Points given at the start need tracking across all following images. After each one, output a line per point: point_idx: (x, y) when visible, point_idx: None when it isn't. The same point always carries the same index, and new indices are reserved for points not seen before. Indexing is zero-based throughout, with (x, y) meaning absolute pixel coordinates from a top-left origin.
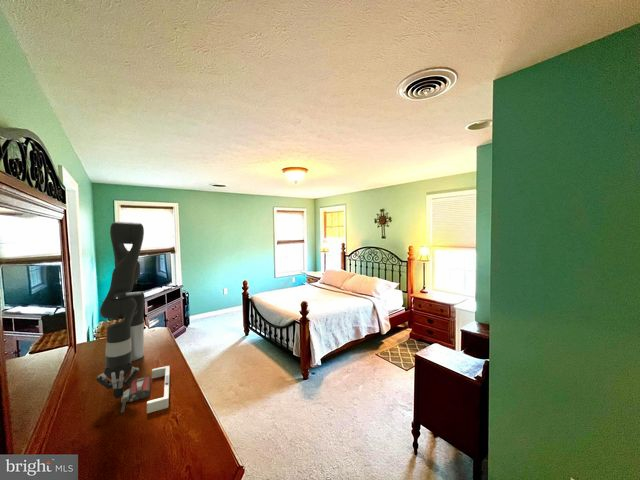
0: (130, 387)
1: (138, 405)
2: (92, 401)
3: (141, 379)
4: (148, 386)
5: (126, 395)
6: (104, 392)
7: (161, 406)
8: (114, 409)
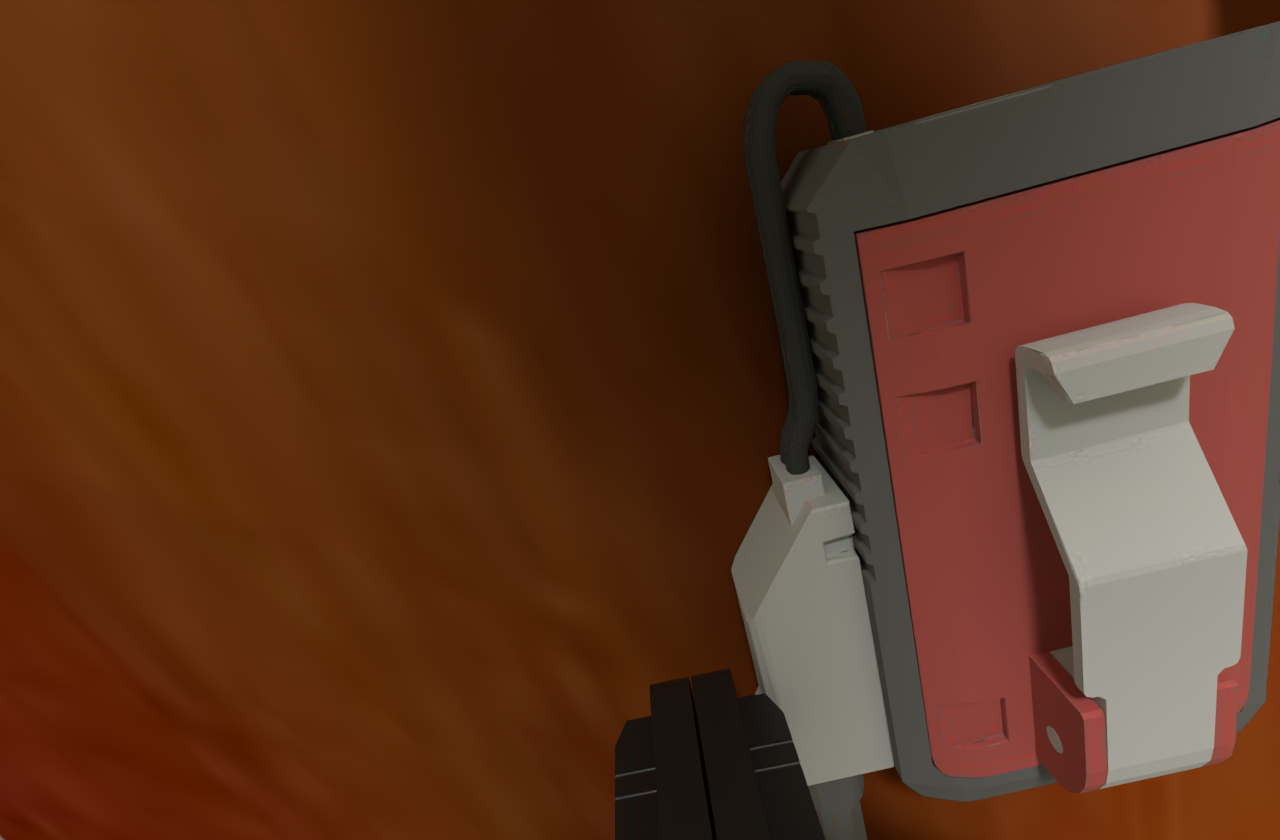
0: (856, 501)
1: (1025, 813)
2: (216, 563)
3: (1160, 375)
4: (1262, 596)
5: (849, 743)
6: (242, 287)
7: None
8: None
